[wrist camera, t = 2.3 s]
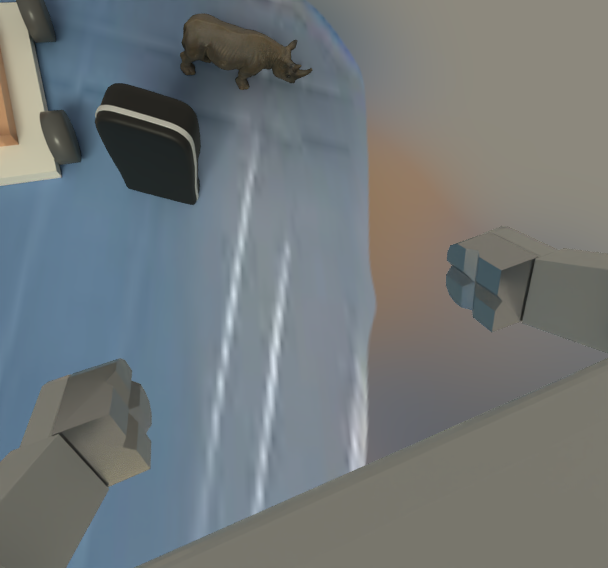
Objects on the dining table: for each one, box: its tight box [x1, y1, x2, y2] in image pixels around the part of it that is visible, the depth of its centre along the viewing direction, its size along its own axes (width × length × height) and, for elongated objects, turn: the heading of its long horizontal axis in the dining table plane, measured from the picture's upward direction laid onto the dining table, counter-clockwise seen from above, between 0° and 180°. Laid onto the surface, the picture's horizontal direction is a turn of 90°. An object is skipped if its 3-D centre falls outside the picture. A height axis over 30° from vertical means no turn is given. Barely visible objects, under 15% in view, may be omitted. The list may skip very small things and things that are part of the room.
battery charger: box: [95, 83, 201, 205], centre depth 31 cm, size 7×4×11 cm, turn 80°
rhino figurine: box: [180, 14, 312, 90], centre depth 38 cm, size 4×14×6 cm, turn 85°
